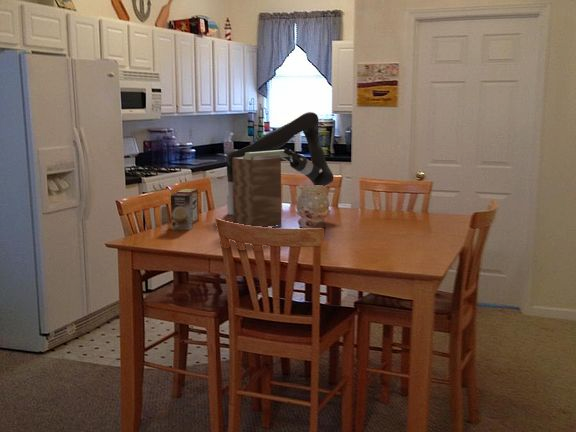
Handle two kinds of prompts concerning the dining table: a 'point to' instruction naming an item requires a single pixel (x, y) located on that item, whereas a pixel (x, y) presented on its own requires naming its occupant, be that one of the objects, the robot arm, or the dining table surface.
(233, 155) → the robot arm
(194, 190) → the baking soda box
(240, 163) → the shelf stand
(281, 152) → the sage bar
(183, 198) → the coffee box
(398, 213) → the dining table surface
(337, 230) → the dining table surface
